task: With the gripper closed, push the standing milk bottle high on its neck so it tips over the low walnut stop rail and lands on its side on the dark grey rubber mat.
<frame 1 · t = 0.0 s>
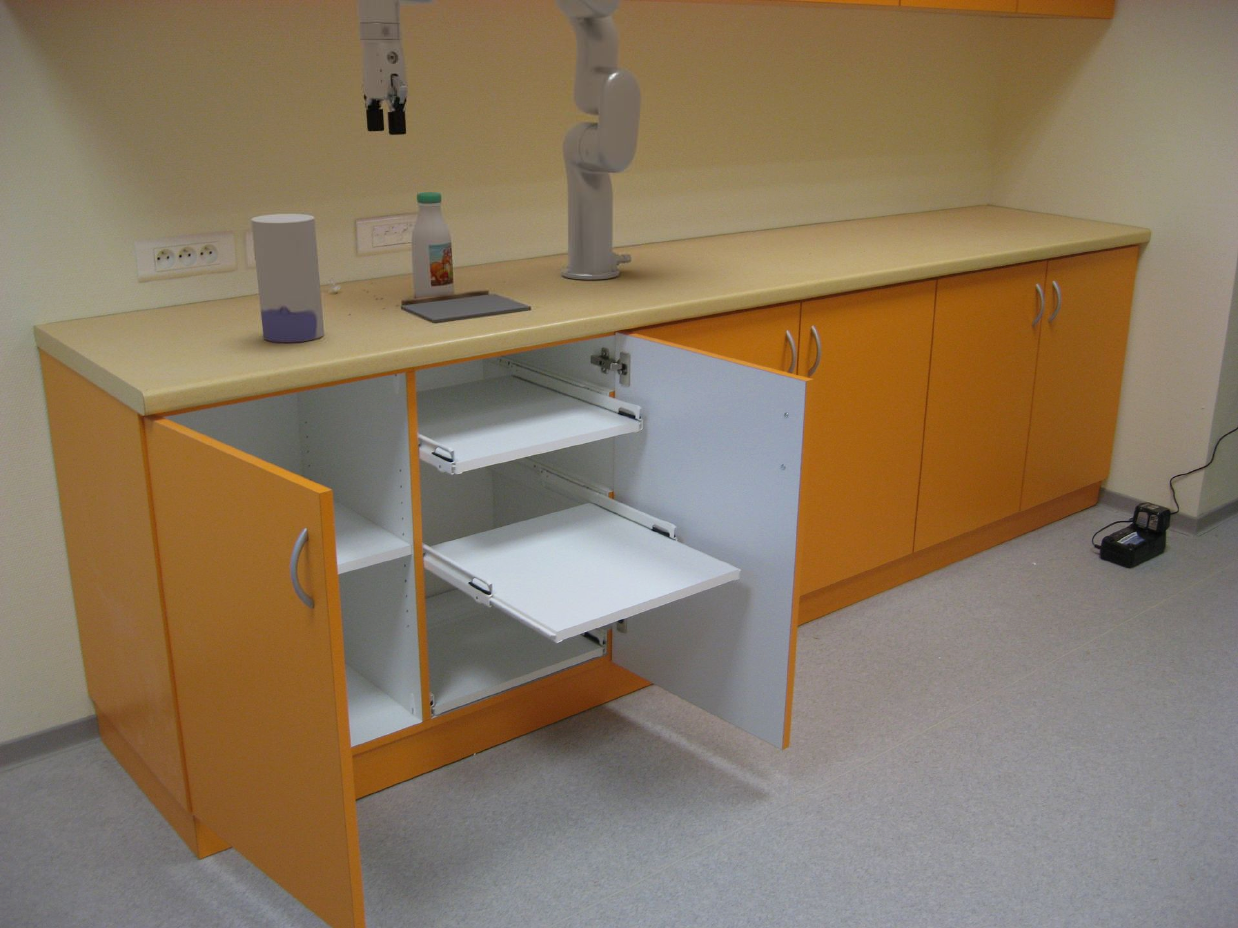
hand: (386, 133, 213), 31 cm above the worktop, fingers open, 9 cm apart
stop rail: (446, 301, 222), on the worktop
milk bottle: (434, 298, 226), on the worktop
container: (294, 337, 196), on the worktop
mat: (466, 309, 216), on the worktop
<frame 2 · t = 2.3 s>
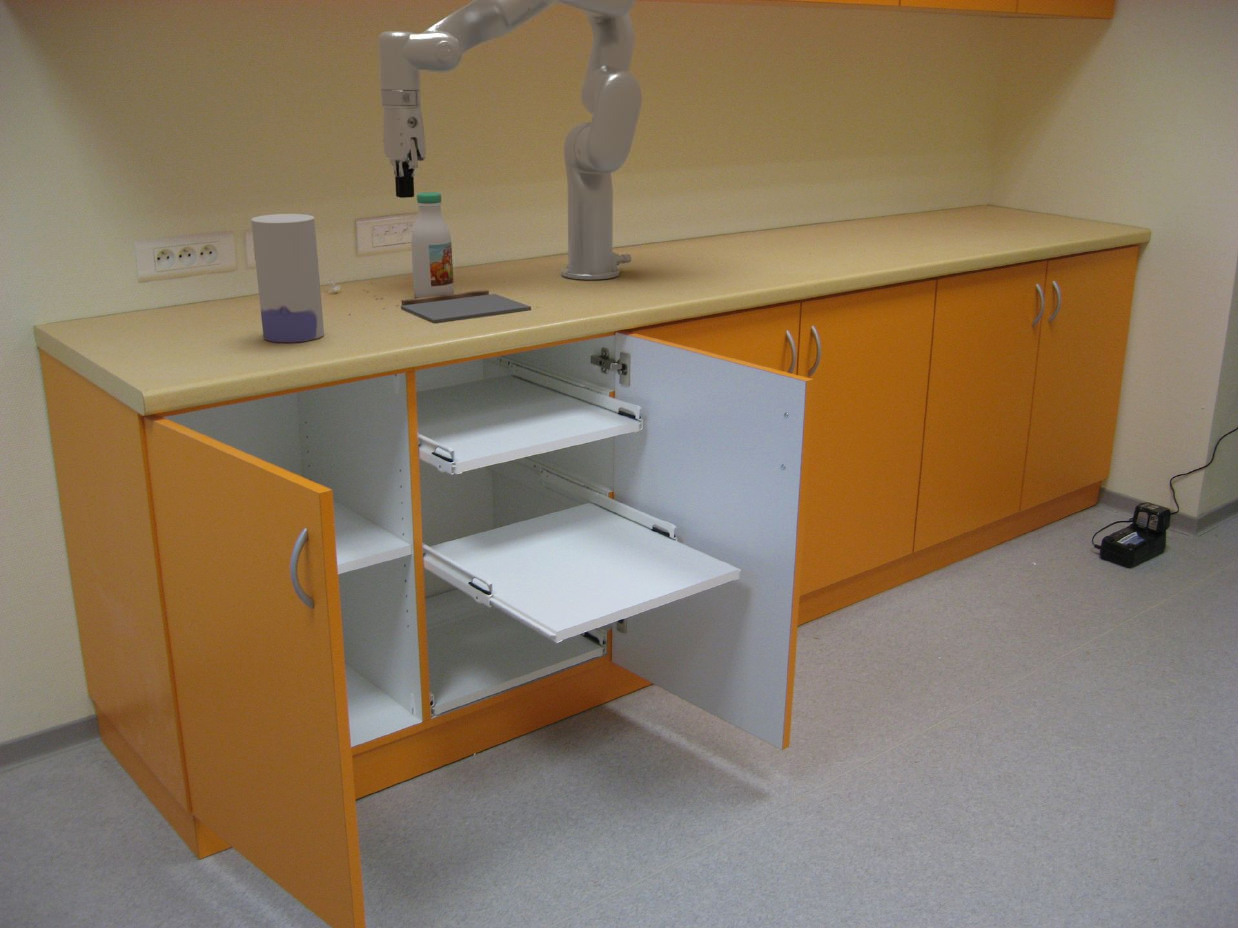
hand: (405, 197, 228), 18 cm above the worktop, fingers closed
nothing on the worktop moved.
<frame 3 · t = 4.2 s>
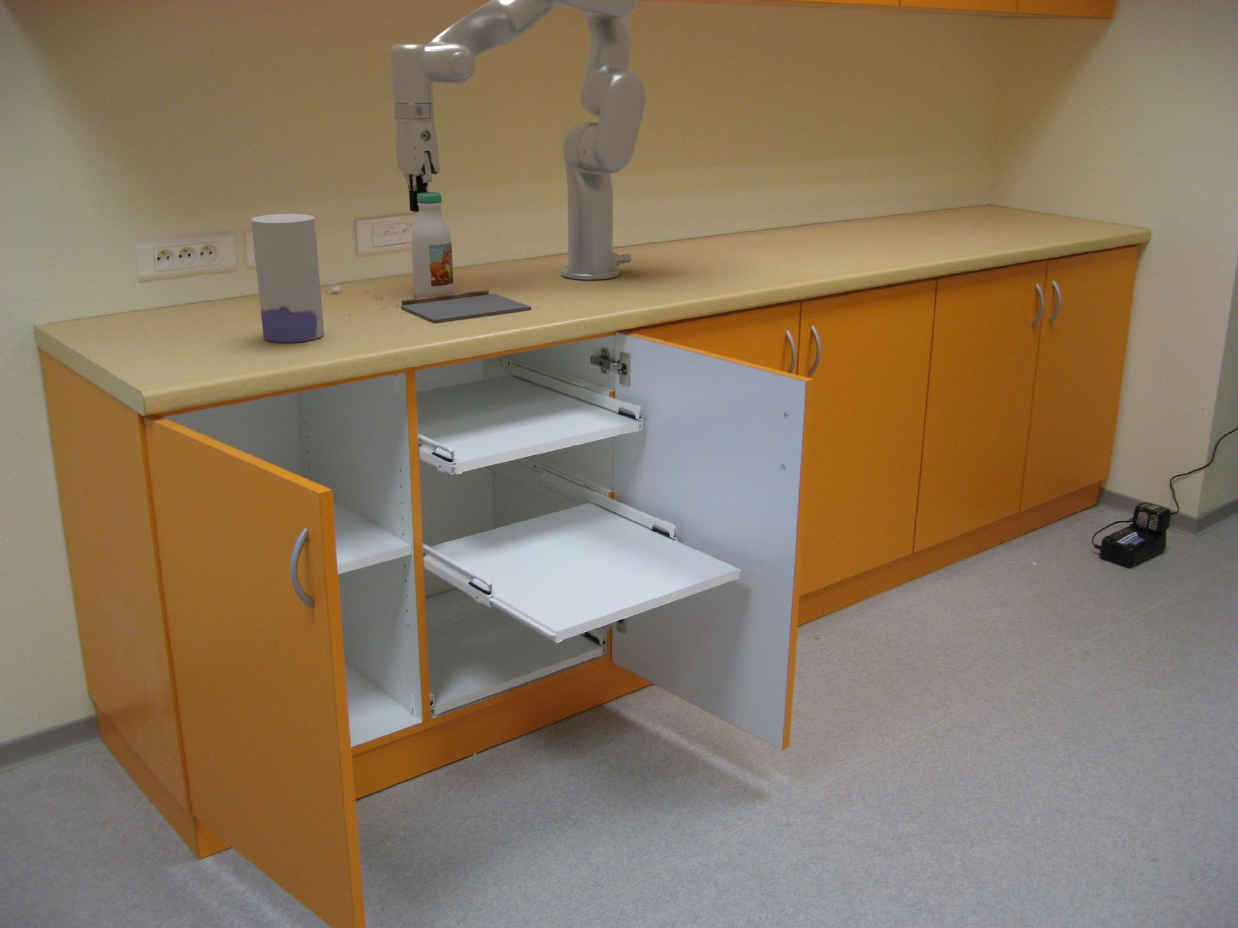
hand: (419, 211, 224), 16 cm above the worktop, fingers closed
milk bottle: (434, 297, 226), on the worktop, touching gripper
everything else where it was.
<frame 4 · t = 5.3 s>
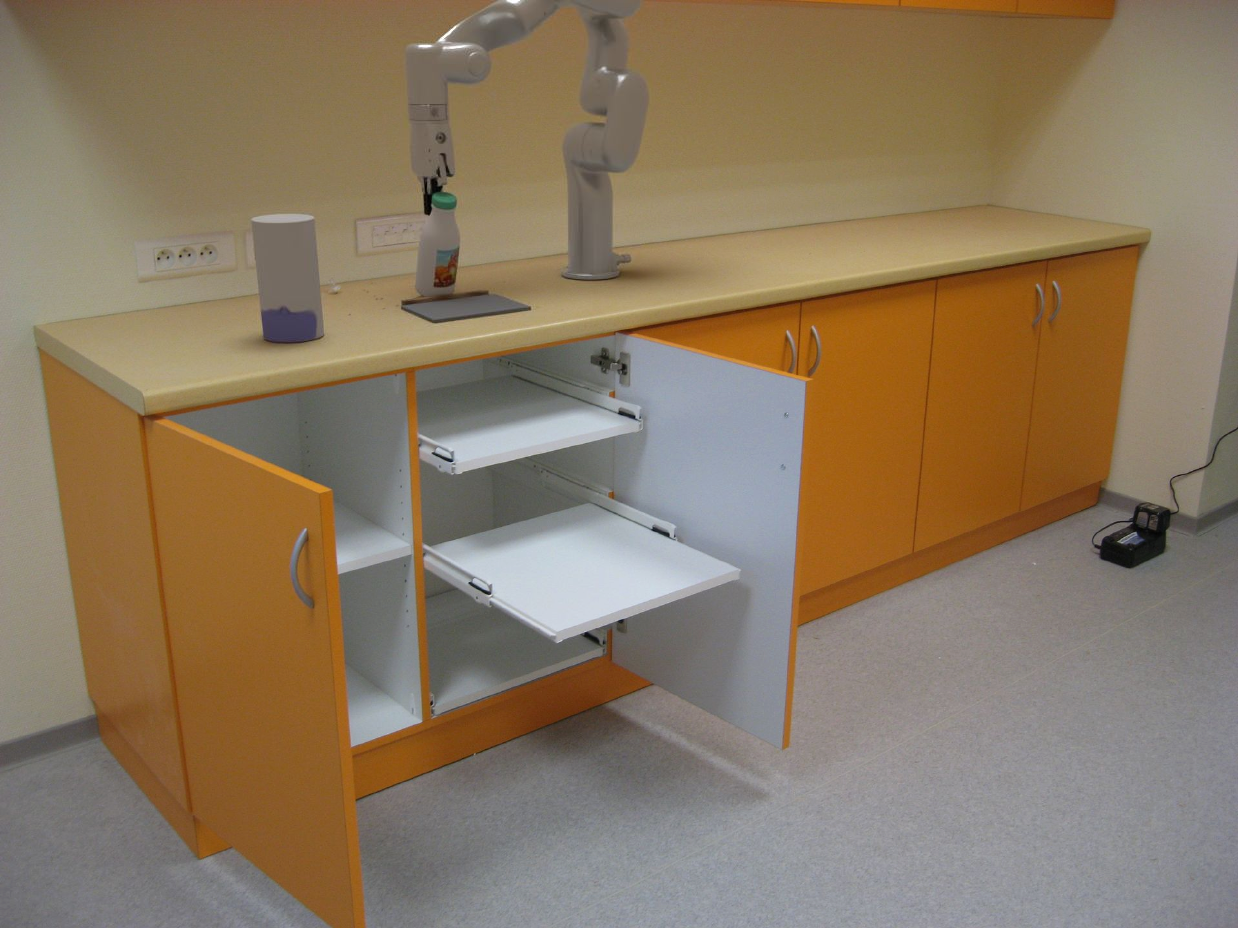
hand: (433, 214, 219), 16 cm above the worktop, fingers closed
milk bottle: (434, 291, 226), point 1 cm above the worktop, touching gripper
everything else where it was.
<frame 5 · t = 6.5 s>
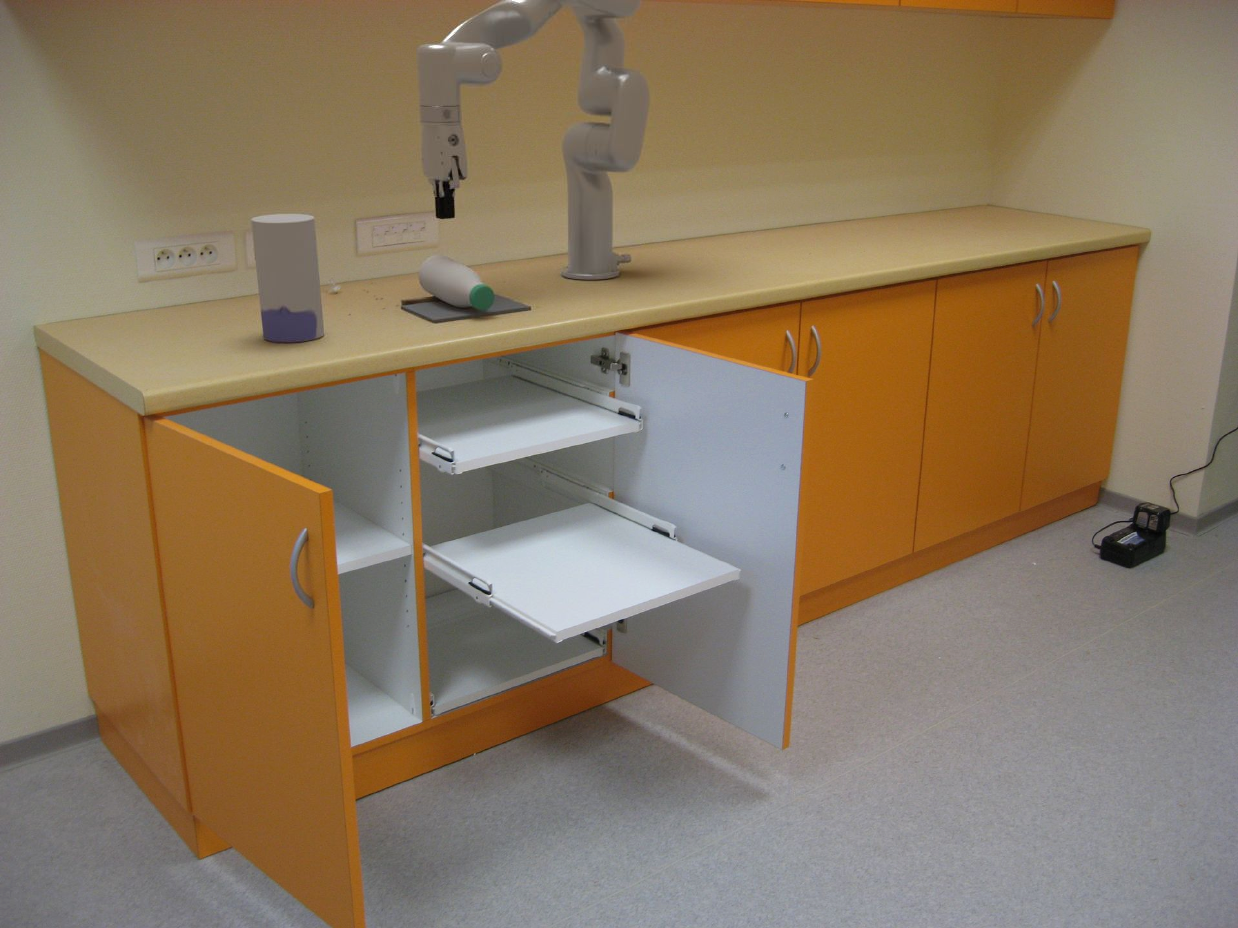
hand: (445, 218, 216), 16 cm above the worktop, fingers closed
milk bottle: (434, 273, 222), point 5 cm above the worktop, touching mat, stop rail
everything else where it was.
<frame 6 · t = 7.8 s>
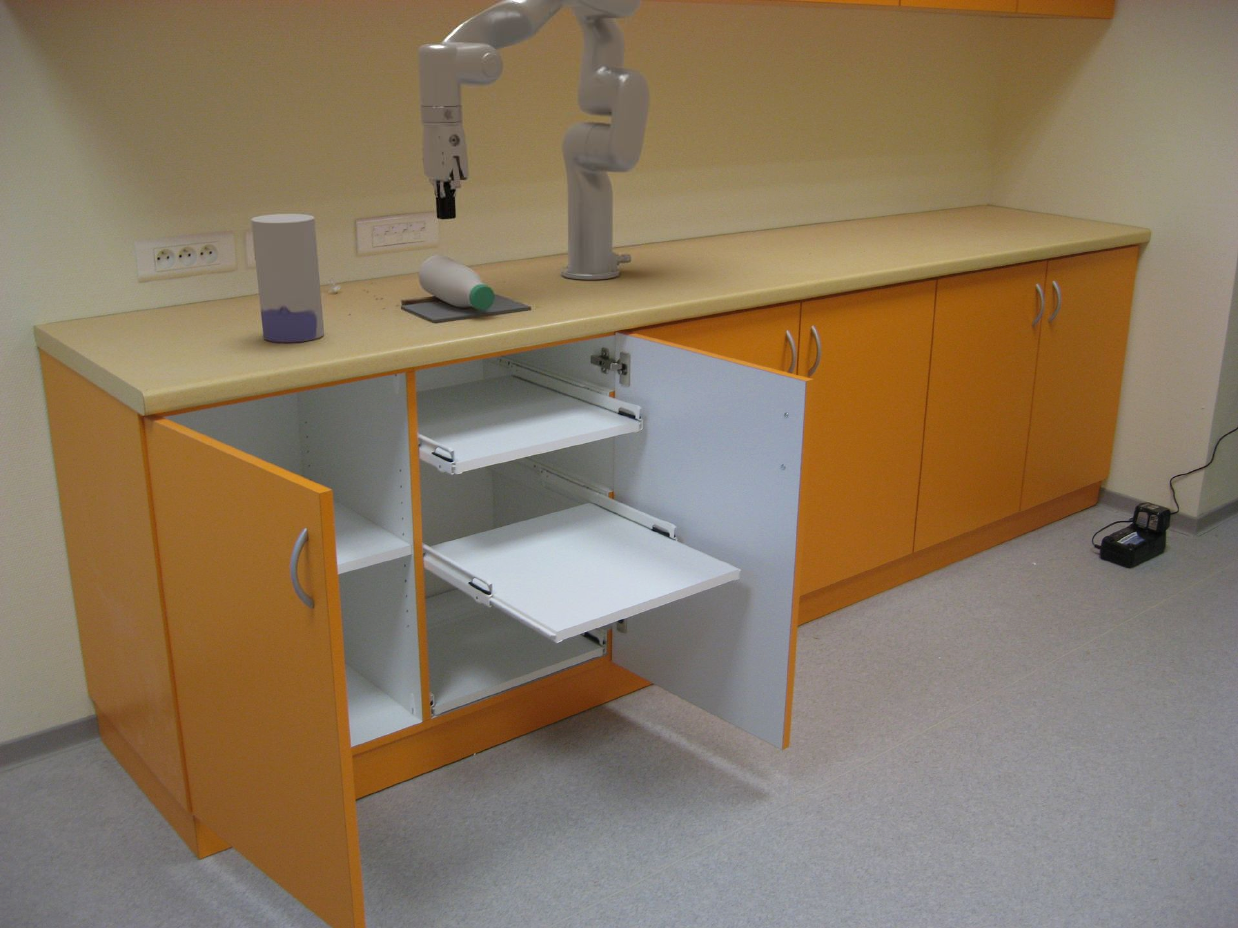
hand: (446, 218, 215), 16 cm above the worktop, fingers closed
nothing on the worktop moved.
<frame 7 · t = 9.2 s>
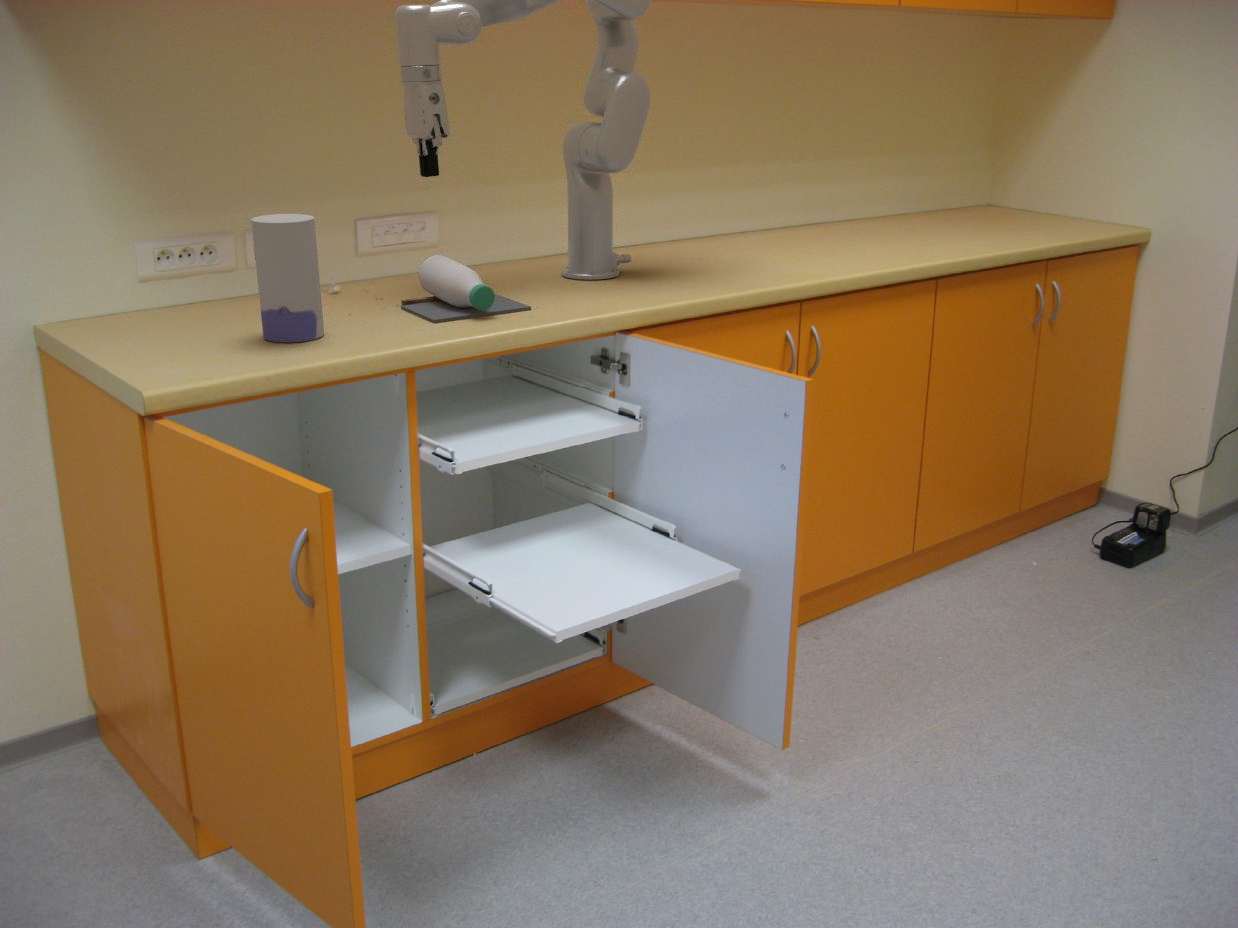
hand: (430, 176, 222), 23 cm above the worktop, fingers closed
nothing on the worktop moved.
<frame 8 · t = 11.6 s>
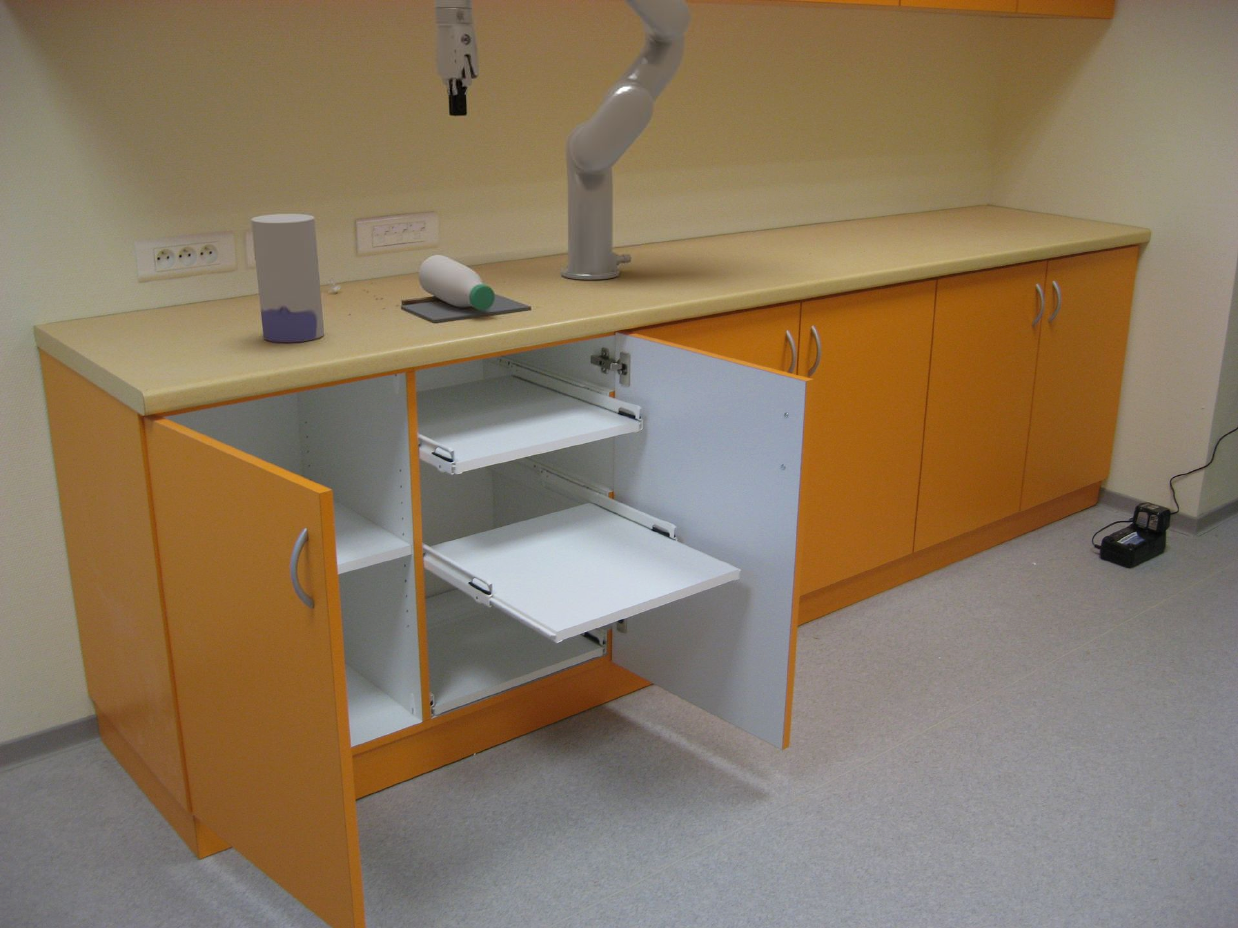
hand: (458, 115, 233), 33 cm above the worktop, fingers closed
nothing on the worktop moved.
at the end: milk bottle tilted 93°; milk bottle inside the target area (10.1 cm from its centre), point 5.0 cm above the worktop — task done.
